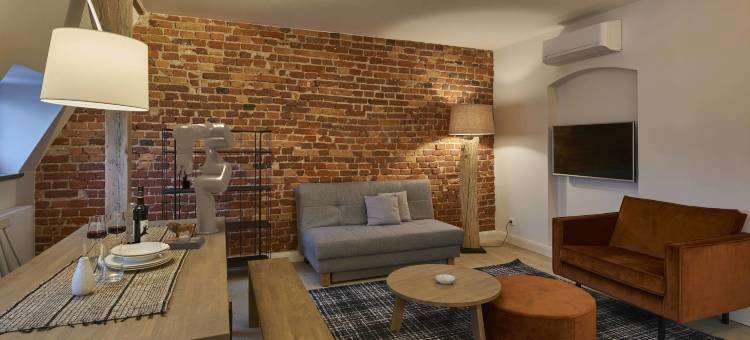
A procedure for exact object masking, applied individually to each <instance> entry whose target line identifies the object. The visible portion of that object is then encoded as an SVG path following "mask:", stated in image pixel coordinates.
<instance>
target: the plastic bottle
mask: <svg viewBox="0 0 750 340" xmlns="http://www.w3.org/2000/svg"><path fill="white" fill-rule="evenodd" d="M135 206H136V207H137V203H136V202H127V203H126V207H127V209H125V211H124V213H125V215H126V221H125V223H126V222H127V228H126V227H125V228H126V229H125V236H124V239H126V240H125V242H126V241H127V242H132V241H133V207H135ZM127 242H126V243H127Z"/></svg>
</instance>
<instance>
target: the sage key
mask: <svg viewBox="0 0 750 340" xmlns="http://www.w3.org/2000/svg"><path fill="white" fill-rule="evenodd" d="M201 237H202V236H195V237H193V236H192V238H191V239H190V241H195V240H200V239H201Z"/></svg>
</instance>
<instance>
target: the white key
mask: <svg viewBox="0 0 750 340" xmlns="http://www.w3.org/2000/svg"><path fill="white" fill-rule="evenodd" d="M190 237H191V235H190V236H188V235H181V236H180V235H179V241H188V240H189V239H190Z"/></svg>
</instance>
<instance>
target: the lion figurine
mask: <svg viewBox="0 0 750 340" xmlns="http://www.w3.org/2000/svg"><path fill="white" fill-rule="evenodd" d="M167 230H168V231H169V232H172V234H175V236H174V238H179V237H180V233H185V232H187V231H188V233H189V234H188V235H187V236H190V237H191V235H192V234H193V235H192V237H197V236H199V234H197V233H196V230H197V229H196V228H195V226H194V225H193V224H190V223H189V224H185V225H182V224H180V223H177V222H176V221H169V222H168V223H167ZM194 231H195V232H194ZM195 233H196V234H195Z"/></svg>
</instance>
